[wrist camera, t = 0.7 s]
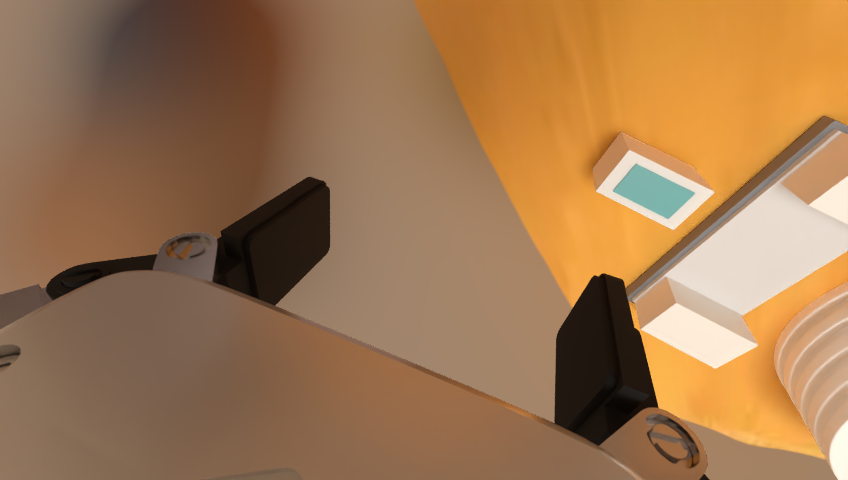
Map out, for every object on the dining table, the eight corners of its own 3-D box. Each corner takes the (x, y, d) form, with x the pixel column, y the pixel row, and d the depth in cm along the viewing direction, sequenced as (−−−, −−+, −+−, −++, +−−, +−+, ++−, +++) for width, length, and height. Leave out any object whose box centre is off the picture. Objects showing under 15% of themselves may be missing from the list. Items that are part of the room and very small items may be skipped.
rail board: (823, 115, 28) (881, 138, 23) (945, 172, 28) (1032, 208, 22) (623, 290, 43) (631, 328, 38) (699, 330, 43) (717, 374, 37)
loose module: (620, 131, 34) (629, 150, 29) (694, 167, 33) (715, 193, 29) (592, 168, 37) (595, 192, 32) (659, 202, 36) (673, 231, 31)
